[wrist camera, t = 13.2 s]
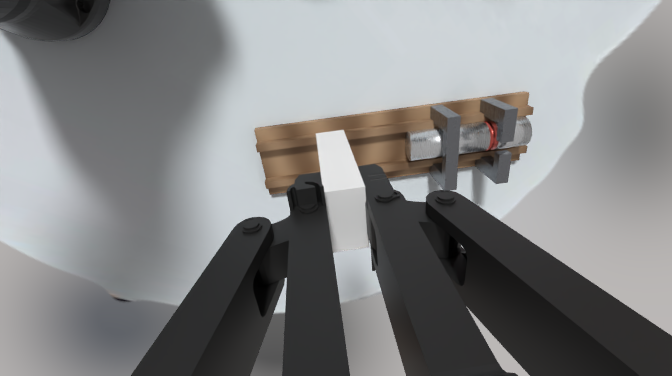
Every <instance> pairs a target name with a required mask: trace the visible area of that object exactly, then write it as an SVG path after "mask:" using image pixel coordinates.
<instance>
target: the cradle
mask: <svg viewBox="0 0 672 376" xmlns="http://www.w3.org/2000/svg"><path fill="white" fill-rule="evenodd" d="M487 98H494V99H496V100H499V101H501V102H504V103H506V104H509V105H511V106H514V107H517V108H518V114H517V117H522V116H524V117H526V115H532V114H533V108H534V107H531V106H528V105H527V104H528V98H529V93H528V92H517V93H510V94H503V95H495V96H488V97H480V98H473V99H466V100H458V101H451V102H444V103H436V104H429V105H422V106H414V107H407V108H399V109H392V110H385V111H377V112H370V113H363V114H355V115H348V116H340V117H333V118H326V119H318V120H311V121H304V122H296V123H289V124H281V125H274V126H267V127H259V128H255V130H254V131H255V135H256V139H257V144H256V148H257V152H260V156H261V160H262V164H263V168H264V172H265V177H266V180H265V185H266V189H269V193H270V194H277V193H285V192H286V191H287V189H288V187H290V186H291V185H292V184H294V183H295V179H296V178H297V177H298V176H299V175H302V174H309V173H316V172H321V171H320V163H319V155H318V148H317V140H316V133H323V132H330V131H338V130H344V132H345V135H346V137H347V140H348V143H349V145H350V148H351V151H352V153H353V156H354V159H355V161H356V164H357V166H362V165H370V164H376V165H378V166H380V167H381V168H382V169H383V171H384V173H385V175H386V176H387V178H392V177H400V176H407V175H414V174H421V173H428V172H429V166H433V164H435V163H442V157H436V158H428V159H421V160H413V161H409V159H408V157H407V154H406V149H405V135H406V132H410V131H417V130H425V129H432V128H439V127H438V126H436V125H435V124H434V121H433V120H432V119H430V106H436V105H443V106H445V107H447V108H448V109H450V110H452V111H453V112H455V113H457V114H458V115H460V116H461V123H460V125H462V124H470V123H477V122H485V121H492V120H490V119H488V118H487V117H485V116H484V114H483V113H481V112H480V101H481V99H487ZM503 150H508V151H509V152H511V153H512V156H511V161H515V160H519V156H520V153H526V151H527V146H526V145H524V146H517V147H509V148H502V149H495V150H487V151H480V152H472V153H465V154H459V156H458V168H464V167H472V166H475V160H477V159H480V157H485V156H492V157H494V154H495V152H496V151H503Z"/></svg>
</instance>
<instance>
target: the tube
mask: <svg viewBox="0 0 672 376" xmlns="http://www.w3.org/2000/svg"><path fill="white" fill-rule="evenodd" d="M497 128H498V123H496V122H494V121H485V122H477V123H470V124H462V125H460V139H459V154H465V153H472V152H480V151H487V150H495V149H502V148H509V147H517V146H524V145H527V144H528V143H529V141H530V139H531V136H532V127H531V124H530V121H529V120H528V119H527V118H526V117H524V116H522V117H517V121H516V128H515V135H514V141H512V142H505V143H500V142H499V141H497V140H496V137H497ZM405 149H406V154H407V157H408V159H409V161H413V160H421V159H428V158H436V157H442V156H443V130H442V129H440V128H432V129H425V130H417V131H410V132H406V135H405Z"/></svg>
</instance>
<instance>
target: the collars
mask: <svg viewBox="0 0 672 376" xmlns="http://www.w3.org/2000/svg"><path fill="white" fill-rule="evenodd" d="M480 112H481V113H483V114H484V116H485V117H487V118H488V119H490V120H492V121H494V122H496V123H498V128H497V137H496V140H497V141H499V142H500V143H505V142H512V141H514V135H515V128H516V121H517V114H518V108H517V107H514V106H511V105H509V104H506V103H504V102H501V101H499V100H496V99H494V98H487V99H481V101H480ZM430 119H432V120H433V121H434V124H435V125H436V126H438V127H439V128H440V129H442V130H443V156H442V163H435V164H433V166H429V173H430V174H431V175H432V176H433V178H434V179H435V180H436V181H437V182H438V184H439V185H440V186H441V187H442V189H443V190H449V191H450V190H456V188H457V172H458V156H459V139H460V123H461V116H460V115H458V114H457V113H455V112H453V111H452V110H450V109H448V108H447V107H445V106H443V105H436V106H430ZM511 156H512V153H511V152H509V151H508V150H503V151H496V152H495V154H494V157H492V156H485V157H480V159H477V160H475V167H477V168H478V169H479V170H480V171H481V172H482V173H484V174H485V175H486V176H487V177H488V178H490V179H491V180H492V181H493V182H494V183H495V184H500V183H507V182H508V177H509V170H510V163H511Z"/></svg>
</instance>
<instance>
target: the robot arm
mask: <svg viewBox="0 0 672 376" xmlns="http://www.w3.org/2000/svg"><path fill="white" fill-rule="evenodd" d="M109 2H110V0H0V28H1V29H3V30H6V31H9V32H11V33H14V34H17V35H20V36H23V37H26V38H30V39H35V40H42V41H61V40H71V39H76V38H79V37H82V36H84V35H86V34H88V33H89V32H91V31H92V30H94V29H95V28H96V27H97V26H98V25H99V23H100V22H101V21H102V19H103V18H104V16H105V14H106V12H107V9H108V6H109ZM316 140H317V148H318V155H319V163H320V171H321V172H316V173H309V174H302V175H299V176H298V177H297V178H296V179H295V183H294V184H292V185H291V186H290V187H288V189H287V191H286V192H287V197H288V202H289V207H290V216H288V217H287V218H286V219H284V220H282V221H279V222H277V223H274V224H271V222H270V220H269V219H267V218H264V217H252V218H249V219H245V220H244V221H242V222H240V223H238V224H237V225H236V226H235V227H234V229H233V230H232V231H231V233H230V234H229V236H228V237H227V239H226V240H225V241H224V243H223V244H222V246H221V247H220V249H219V250H218V251H217V253H216V254H215V256H214V257H213V259H212V260H211V261H210V263H209V264H208V266H207V267H206V269H205V270H204V272H203V273H202V274H201V276H200V277H199V279H198V280H197V282H196V283H195V284H194V286H193V287H192V289H191V290H190V292H189V293H188V294H187V296H186V297H185V299H184V300H183V302H182V303H181V304H180V306H179V307H178V309H177V310H176V312H175V313H174V314H173V316H172V317H171V319H170V320H169V322H168V323H167V325H166V326H165V327H164V329H163V331H162V332H161V333H160V335H159V336H158V338H157V339H156V340H155V342H154V343H153V345H152V346H151V348H150V349H149V350H148V352H147V353H146V355H145V356H144V358H143V359H142V361H141V362H140V363H139V365H138V366H137V368H136V369H135V370H134V372H133V373H132V375H131V376H250V374H251V371H252V369H253V366H254V363H255V361H256V358H257V355H258V353H259V350H260V347H261V345H262V342H263V339H264V337H265V334H266V331H267V328H268V326H269V323H270V321H271V318H272V315H273V313H274V310H275V307H276V305H277V302H278V299H279V297H280V294H281V291H282V289H283V286H284V281H285V279H284V278H286V277H287V290H286V311H285V331H284V351H283V352H284V353H283V372H282V376H350V373H349V365H348V358H347V351H346V344H345V336H344V329H343V322H342V315H341V308H340V301H339V293H338V286H337V279H336V272H335V265H334V258H333V253H334V252H341V251H348V250H355V249H362V248H368V247H369V241H370V244H371V258H372V271H375V270H376V273H377V277H378V280H379V284H380V287H381V291H382V294H383V298H384V301H385V304H386V308H387V311H388V315H389V318H390V322H391V325H392V328H393V332H394V335H395V339H396V342H397V346H398V349H399V352H400V356H401V359H402V363H403V366H404V370H405V373H406V376H518V375H517V374H515V373H507V372H505V371H504V370H503V369H502V368H501V367H500V365H499V363H498V362H497V360H496V359H495V356H494V355H493V353H492V351H491V349H490V348H489V346H488V344H487V342H486V341H485V339H484V337H483V335H482V334H481V332H480V330H479V328H478V326H477V325H476V323H475V321H474V320H473V318H472V316H471V314H470V313H469V311H468V309H467V308H466V306H467V307H468V308H469V309H470V311H471V312H472V313H473V314H474V315H475V316H476V317H477V318H478V319H479V320H480V322H482V324H483V325H484V326H485V327H486V328H487V329H488V330H489V331H490V333H492V335H493V336H494V337H495V338H496V339H497V340H498V341H499V342H500V343H501V345H502V346H503V347H504V348H505V349H506V350H507V351H508V352H509V353H510V354H511V355H512V356H513V358H514V359H515V360H516V361H517V362H518V363H519V364H520V365H521V366H522V368H523V369H525V371H526V372H527V373H528V374H529V375H530V376H672V336H671V335H670V334H668V333H667V332H665V331H663V330H662V329H661V328H659V327H658V326H656V325H655V324H653V323H652V322H650V321H649V320H647V319H646V318H644V317H643V316H641V315H640V314H638V313H637V312H635V311H634V310H632V309H631V308H629V307H628V306H626V305H625V304H623V303H622V302H620V301H619V300H617V299H616V298H614V297H613V296H611V295H610V294H608V293H607V292H605V291H604V290H602V289H601V288H599V287H598V286H597V285H595V284H593V283H592V282H591V281H589V280H588V279H586V278H584V277H583V276H582V275H580V274H579V273H577V272H576V271H574V270H573V269H571V268H569V267H568V266H567V265H565V264H564V263H562V262H561V261H559V260H558V259H556V258H555V257H553V256H552V255H550V254H549V253H547V252H546V251H544V250H543V249H541V248H540V247H538V246H537V245H535V244H534V243H532V242H531V241H529V240H528V239H526V238H525V237H523V236H522V235H520V234H519V233H517V232H516V231H514V230H513V229H511V228H510V227H508V226H507V225H506V224H504V223H503V222H501V221H500V220H498V219H497V218H495V217H494V216H492V215H491V214H489V213H488V212H486V211H485V210H483V209H482V208H480V207H479V206H477V205H476V204H474V203H473V202H471V201H470V200H468V199H467V198H465V197H464V196H462V195H461V194H458V193H456V192H453V191H449V190H440V191H434V192H432V193H429V194H428V195H427V197H426V202H413V201H407V200H405V198H404V196H403V195H402V194H401V193H400V192H399V191H396V190H393V188H392V186H391V184H390V182H389V180H388V178H387V176H386V175H385V173H384V171H383V169H382V168H381V167H380V166H378V165H376V164H370V165H362V166H357V164H356V161H355V159H354V156H353V153H352V151H351V148H350V145H349V143H348V140H347V137H346V135H345V132H344V130H338V131H330V132H323V133H316ZM461 245H462V246H463V248H464V249H465V250H464V249H463V248H462V247H461Z"/></svg>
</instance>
